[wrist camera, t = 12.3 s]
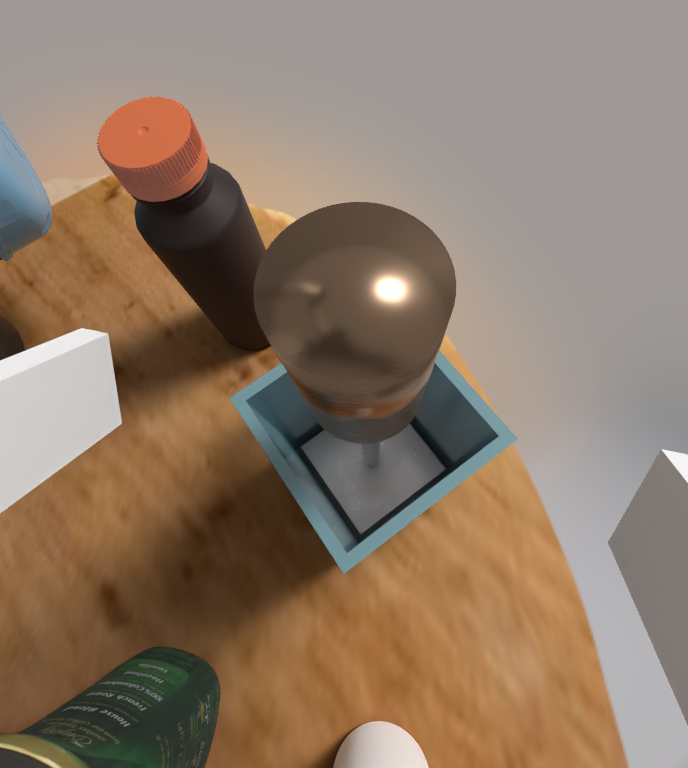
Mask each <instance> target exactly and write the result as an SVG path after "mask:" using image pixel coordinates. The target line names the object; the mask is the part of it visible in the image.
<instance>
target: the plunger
mask: <svg viewBox="0 0 688 768" xmlns="http://www.w3.org/2000/svg"><path fill="white" fill-rule="evenodd" d="M455 297H456V279H455V271H454V267H453V264H452V261H451V258H450V256H449V254H448V252H447V250H446V248H445V246H444V245H443V243H442V242H441V241H440V239H439V238H438V237H437V236H436V234H435V233H434V232H433V231H432V230H431V229H430V228H429V227H427V226H426V225H425V224H424V223H423V222H421V221H420V220H418V219H417V218H415V217H414V216H412V215H410V214H408V213H406V212H404V211H402V210H399V209H396V208H393V207H390V206H386V205H382V204H377V203H369V202H350V203H341V204H336V205H331V206H327V207H324V208H321V209H318V210H316V211H313V212H311V213H309V214H307V215H305V216H303V217H301V218H300V219H298V220H296V221H295V222H294V223H292V224H291V225H289V226H288V227H287V228H286V229H285V230H283V231H282V232H281V233H280V234H279V235H278V236H277V237H276V239H275V240H274V241H273V242H272V243H271V245H270V246H269V248H268V249H267V251H266V252H265V254H264V256H263V258H262V260H261V262H260V264H259V267H258V270H257V273H256V277H255V282H254V294H253V298H254V308H255V312H256V316H257V319H258V322H259V324H260V326H261V329H262V331H263V333H264V334H265V336H266V338H267V339H268V341H269V343H270V344H271V346H272V348H273V349H274V351H275V353H276V354H277V356H278V358H279V359H280V361H281V363H282V364H283V366H284V368H285V369H286V371H287V373H288V374H289V376H290V378H291V379H292V381H293V383H294V384H295V386H296V388H297V389H298V391H299V393H300V394H301V396H302V398H303V399H304V401H305V403H306V404H307V406H308V408H309V409H310V411H311V413H312V414H313V416H314V418H315V419H316V421H317V422H318V423H319V424H320V425H321V426H322V427H323V428H324V429H325V430H324V431H322V432H321V433H319V434H318V435H317V436H315V437H314V438H312V439H311V440H310V441H308V442H307V443H306V444H304V445H303V446H301V448H302V449H303V451H304V452H305V454H306V455H307V457H308V458H309V460H310V461H311V462H312V464H313V465H314V467H315V468H316V470H317V471H318V473H319V474H320V476H321V477H322V478H323V480H324V481H325V483H326V484H327V486H328V487H329V489H330V490H331V492H332V493H333V495H334V496H335V497H336V499H337V500H338V502H339V503H340V505H341V506H342V508H343V509H344V511H345V512H346V513H347V515H348V516H349V518H350V519H351V521H352V522H353V524H354V525H355V527H356V528H357V530H358V531H359V532H360V534H362V533H363V532H365V531H366V530H367V529H368V528H370V527H371V526H372V525H374V524H375V523H376V522H378V521H379V520H380V519H381V518H383V517H384V516H385V515H387V514H388V513H389V512H391V511H392V510H393V509H395V508H396V507H397V506H398V505H400V504H401V503H402V502H404V501H405V500H406V499H408V498H409V497H410V496H411V495H413V494H414V493H415V492H417V491H418V490H419V489H421V488H422V487H423V486H424V485H426V484H427V483H428V482H430V481H431V480H432V479H434V478H435V477H436V476H437V475H439V474H440V473H441V472H443V471H444V470H445V467H444V466H443V465H442V464H441V462H440V461H439V460H438V459H437V457H436V456H435V455H434V454H433V452H432V451H431V450H430V449H429V447H428V446H427V445H426V444H425V442H424V441H423V440H422V439H421V437H420V436H419V435H418V434H417V432H416V431H415V430H414V429H413V427H412V426H411V425H410V424H409V423H410V422H411V421H412V420H413V418H414V417H415V415H416V413H417V411H418V409H419V407H420V404H421V401H422V398H423V395H424V392H425V390H426V387H427V384H428V381H429V378H430V375H431V372H432V369H433V366H434V363H435V360H436V357H437V354H438V352H439V349H440V346H441V343H442V340H443V337H444V334H445V331H446V328H447V325H448V322H449V319H450V316H451V313H452V310H453V307H454V302H455Z"/></svg>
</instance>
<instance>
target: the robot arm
mask: <svg viewBox="0 0 688 768" xmlns="http://www.w3.org/2000/svg"><path fill="white" fill-rule="evenodd" d="M52 218H53V217H52V208H51V205H50V201H49V199H48V196H47V194H46V192H45V189H44V187H43V185H42V183H41V181H40V179H39V177H38V176H37V174H36V172H35V170H34V168H33V167H32V165H31V163H30V161H29V160H28V158H27V156H26V154H25V153H24V151H23V150H22V148H21V147H20V145H19V143H18V142H17V140H16V138H15V137H14V135H13V134H12V132H11V131H10V129H9V127H8V126H7V125H6V123H5V121H4V120H3V119H2V117H1V116H0V260H1V259H3V260H5V261H7V260H10V259H11V258H12V257H13V253H15V252H17V251H18V250H20V249H22V248H24V247H25V246H27V245H29V244H31V243H32V242H34V241H36V240H38V239H39V238H41V237H42V236H44V235H45V234H46V233H47V232H48V231H49V229H50V227H51V224H52ZM121 424H122V420H121V414H120V407H119V401H118V394H117V388H116V381H115V375H114V368H113V362H112V355H111V349H110V342H109V336H108V333H103V332H98V331H94V330H89V329H84V328H81V329H78V330H76V331H73V332H71V333H68V334H66V335H63V336H61V337H58V338H56V339H53V340H51V341H48V342H46V343H43V344H41V345H38V346H36V347H33V348H31V349H28V350H26V351H25V349H24V345H23V342H22V340H21V337H20V335H19V334H18V332H17V331H16V329H15V328H14V327H13V326H12V325H11V324H10V323H9V322H8V321H6V320H5V319H3V318H1V317H0V513H1V512H3V511H4V510H5V509H7V508H8V507H9V506H11V505H12V504H13V503H15V502H16V501H18V500H19V499H20V498H22V497H23V496H24V495H26V494H27V493H28V492H30V491H31V490H33V489H34V488H35V487H37V486H38V485H39V484H41V483H42V482H43V481H45V480H46V479H47V478H49V477H50V476H52V475H53V474H54V473H56V472H57V471H58V470H60V469H61V468H62V467H64V466H65V465H66V464H68V463H69V462H71V461H72V460H73V459H75V458H76V457H77V456H79V455H80V454H81V453H83V452H84V451H85V450H87V449H88V448H90V447H91V446H92V445H94V444H95V443H96V442H98V441H99V440H100V439H102V438H103V437H105V436H106V435H107V434H109V433H110V432H111V431H113V430H114V429H115V428H117V427H118V426H119V425H121ZM608 543H609V546H610V548H611V550H612V552H613V555H614V557H615V559H616V562H617V564H618V566H619V569H620V571H621V573H622V575H623V578H624V580H625V582H626V585H627V587H628V589H629V592H630V594H631V596H632V598H633V601H634V603H635V605H636V607H637V610H638V612H639V614H640V616H641V619H642V621H643V623H644V626H645V628H646V630H647V632H648V635H649V637H650V640H651V642H652V644H653V646H654V649H655V651H656V653H657V656H658V658H659V660H660V663H661V665H662V667H663V669H664V671H665V674H666V676H667V678H668V681H669V683H670V685H671V688H672V690H673V692H674V695H675V697H676V699H677V701H678V704H679V706H680V708H681V711H682V713H683V715H684V718H685V720H686V722H687V724H688V455H686V454H682V453H676V452H672V451H667V450H663V449H661V451H660V452H659V454H658V456H657V458H656V459H655V461H654V463H653V464H652V466H651V468H650V470H649V471H648V473H647V475H646V477H645V479H644V480H643V482H642V484H641V486H640V487H639V489H638V491H637V492H636V494H635V496H634V498H633V500H632V501H631V503H630V505H629V507H628V508H627V510H626V512H625V514H624V515H623V517H622V519H621V521H620V523H619V524H618V526H617V528H616V530H615V531H614V533H613V535H612V536H611V538H610V540H609V542H608Z"/></svg>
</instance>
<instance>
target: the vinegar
mask: <svg viewBox="0 0 688 768" xmlns="http://www.w3.org/2000/svg"><path fill="white" fill-rule="evenodd" d="M97 144H98V146H97V147H98V148H99V149H98V150H99V153H100V155H101V157H102V159H103V160H104V161H105V163H106V164H107V165H108V167H109V168H110V169H111V171H112V172H113V173H114V175H115V176H116V177H117V178H118V180H119V181H120V182H121V184H122V185H123V186H124V188H125V189H126V190H127V192H128V193H130V194H131V195H132V197H133V198H134V199H135V200H137V202H136V207H135V212H134V214H135V219H136V225H137V229H138V231H139V232H140V234H141V235H142V237H143V238H144V240H145V241H146V243H147V244H148V245H149V246H150V247H151V249H152V250H153V251H154V252H155V254H156V255H157V256H158V257H159V258H160V260H161V261H162V262H163V263H164V264H165V266H166V267H167V268H168V269H169V271H170V272H171V273H172V274H173V275H174V277H175V278H176V279H177V280H178V282H179V283H180V284H181V285H182V286H183V288H184V289H185V290H186V291H187V292H188V294H189V295H190V296H191V297H192V299H193V300H194V301H195V302H196V303H197V305H198V306H199V307H200V308H201V310H202V311H203V312H204V313H205V314H206V316H207V317H208V318H209V319H210V320H211V322H212V323H213V324H214V325H215V327H216V328H217V329H218V330H219V331H220V333H221V334H222V335H223V336H224V338H225V339H226V340H227V341H228V342H230V343H231V344H233V345H234V346H236V347H239V348H243V349H246V350H253V349H260V348H264V347H267V346H269V345H271V344H270V343H269V341H268V339H267V338H266V336H265V334H264V333H263V331H262V329H261V326H260V324H259V322H258V319H257V316H256V312H255V308H254V298H253V294H254V282H255V277H256V273H257V270H258V267H259V264H260V262H261V260H262V258H263V256H264V254H265V252H266V249H265V247H264V244H263V242H262V239H261V237H260V235H259V232H258V230H257V227H256V225H255V222H254V220H253V217H252V215H251V213H250V210H249V208H248V205H247V203H246V200H245V198H244V196H243V193H242V191H241V188H240V186H239V184H238V183H237V181H236V180H235V179H234V178H233V177H232V176H231V174H230V173H229V172H228V171H226V170H224V169H223V168H221V167H219V166H217V165H216V164H213V163H210V161H209V157H208V154H207V152H206V148H205V146H204V144H203V141H202V139H201V137H200V135H199V133H198V131H197V129H196V126H195V124H194V122H193V120H192V118H191V116H190V113H189V112H188V111H187V109H186V108H185V107H184V106H182V104H179V103H177V102H176V101H173V100H171V99H167V98H161V97H150V98H142V99H139V100H136V101H132V102H130V103H128V104H126V105H124V106H123V107H121V108H119V109H117V110H116V111H115V112H114V113H113V114H112V115H111V116H110V117H109V118H108V119H107V120H106V121H105V123H104V124H103V126H102V128H101V130H100V133H99V136H98V143H97Z"/></svg>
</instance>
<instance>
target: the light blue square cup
mask: <svg viewBox="0 0 688 768" xmlns="http://www.w3.org/2000/svg"><path fill="white" fill-rule="evenodd" d="M230 400H231V401H232V403H233V404H234V406H235V407H236V409H237V411H238V412H239V414H240V415H241V417H242V418H243V420H244V421H245V423H246V424H247V426H248V427H249V429H250V431H251V432H252V434H253V435H254V437H255V438H256V440H257V441H258V443H259V444H260V446H261V447H262V449H263V451H264V452H265V454H266V455H267V457H268V458H269V460H270V461H271V463H272V464H273V466H274V467H275V469H276V471H277V472H278V474H279V475H280V477H281V478H282V480H283V481H284V483H285V484H286V486H287V487H288V489H289V491H290V492H291V494H292V495H293V497H294V498H295V500H296V501H297V503H298V504H299V506H300V507H301V509H302V511H303V512H304V514H305V515H306V517H307V518H308V520H309V521H310V523H311V524H312V526H313V527H314V529H315V531H316V532H317V534H318V535H319V537H320V538H321V540H322V541H323V543H324V544H325V546H326V547H327V549H328V551H329V552H330V554H331V555H332V557H333V558H334V560H335V561H336V563H337V564H338V566H339V567H340V569H341V571H342V572H343V574H345V573H346V572H347V571H349V570H350V569H351V568H352V567H354V566H355V565H356V564H358V563H359V562H360V561H361V560H363V559H364V558H365V557H367V556H368V555H369V554H370V553H372V552H373V551H374V550H376V549H377V548H378V547H379V546H381V545H382V544H383V543H385V542H386V541H387V540H388V539H390V538H391V537H392V536H394V535H395V534H396V533H397V532H399V531H400V530H401V529H403V528H404V527H405V526H406V525H408V524H409V523H410V522H412V521H413V520H414V519H415V518H417V517H418V516H419V515H421V514H422V513H423V512H424V511H426V510H427V509H428V508H430V507H431V506H432V505H433V504H435V503H436V502H437V501H439V500H440V499H441V498H442V497H444V496H445V495H446V494H448V493H449V492H450V491H451V490H453V489H454V488H455V487H457V486H458V485H459V484H460V483H462V482H463V481H464V480H466V479H467V478H468V477H469V476H471V475H472V474H473V473H475V472H476V471H477V470H478V469H480V468H481V467H482V466H484V465H485V464H486V463H487V462H489V461H490V460H491V459H493V458H494V457H495V456H496V455H498V454H499V453H500V452H502V451H503V450H504V449H505V448H507V447H508V446H509V445H511V444H512V443H513V442H514V441H516V440H517V437H516V436H515V435H514V434H513V433H512V432H511V431H510V429H508V427H507V426H506V425H505V424H504V423H503V422H502V421H501V419H500V418H499V417H498V416H497V415H496V414H495V413H494V412H493V410H492V409H491V408H490V407H489V406H488V405H487V404H486V403H485V401H484V400H483V399H482V398H481V397H480V396H479V395H478V394H477V392H476V391H475V390H474V389H473V388H472V387H471V386H470V385H469V383H468V382H467V381H466V380H465V379H464V378H463V377H462V376H461V374H460V373H459V372H458V371H457V370H456V369H455V368H454V367H453V366H452V364H451V363H450V362H449V361H448V360H447V359H446V358H445V357H444V355H443V354H442V353H441V352H440V351H439V352H438V354H437V357H436V360H435V363H434V366H433V369H432V372H431V375H430V378H429V381H428V384H427V387H426V390H425V392H424V395H423V398H422V401H421V404H420V407H419V409H418V411H417V413H416V415H415V417H414V418H413V420H412V421H411V422H410V423H409V424H410V425H411V426H412V427H413V429H414V430H415V431H416V432H417V434H418V435H419V436H420V437H421V439H422V440H423V441H424V442H425V444H426V445H427V446H428V447H429V449H430V450H431V451H432V452H433V454H434V455H435V456H436V457H437V459H438V460H439V461H440V462H441V464H442V465H443V466H444V467H445V470H444V471H443V472H441V473H440V474H439V475H437V476H436V477H435V478H434V479H432V480H431V481H430V482H428V483H427V484H426V485H424V486H423V487H422V488H421V489H419V490H418V491H417V492H415V493H414V494H413V495H411V496H410V497H409V498H408V499H406V500H405V501H404V502H402V503H401V504H400V505H398V506H397V507H396V508H395V509H393V510H392V511H391V512H389V513H388V514H387V515H385V516H384V517H383V518H381V519H380V520H379V521H378V522H376V523H375V524H374V525H372V526H371V527H370V528H368V529H367V530H366V531H365V532H363V533H362V534H360V532H359V531H358V530H357V528H356V527H355V525H354V524H353V522H352V521H351V519H350V518H349V516H348V515H347V513H346V512H345V511H344V509H343V508H342V506H341V505H340V503H339V502H338V500H337V499H336V497H335V496H334V495H333V493H332V492H331V490H330V489H329V487H328V486H327V484H326V483H325V481H324V480H323V478H322V477H321V476H320V474H319V473H318V471H317V470H316V468H315V467H314V465H313V464H312V462H311V461H310V460H309V458H308V457H307V455H306V454H305V452H304V451H303V449H302V448H301V446H303V445H304V444H306V443H307V442H308V441H310V440H311V439H312V438H314V437H315V436H317V435H318V434H319V433H321V432H322V431H324V430H325V429H324V428H323V427H322V426H321V425H320V424H319V423H318V422H317V421H316V419H315V418H314V416H313V414H312V413H311V411H310V409H309V408H308V406H307V404H306V403H305V401H304V399H303V398H302V396H301V394H300V393H299V391H298V389H297V388H296V386H295V384H294V383H293V381H292V379H291V378H290V376H289V374H288V373H287V371H286V369H285V368H284V366H283V364H282V363H281V364H279V365H278V366H276V367H275V368H273V369H272V370H270V371H269V372H268V373H266V374H265V375H263V376H262V377H260V378H259V379H257V380H256V381H254V382H253V383H251V384H250V385H248V386H247V387H246V388H244V389H243V390H241V391H240V392H238V393H237V394H235V395H234V396H232V397H231V398H230Z"/></svg>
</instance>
